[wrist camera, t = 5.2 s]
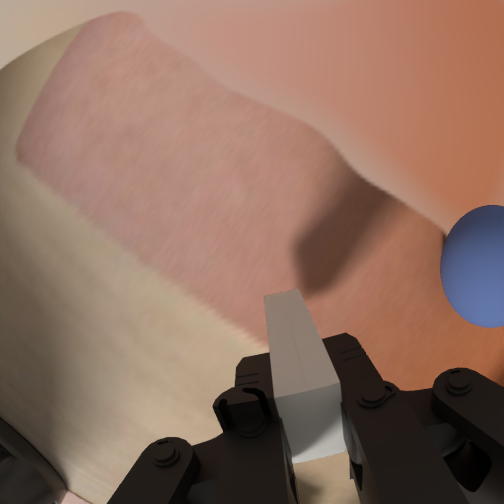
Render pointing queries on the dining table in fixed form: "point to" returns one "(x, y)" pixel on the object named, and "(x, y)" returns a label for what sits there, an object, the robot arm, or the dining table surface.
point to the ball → (476, 266)
